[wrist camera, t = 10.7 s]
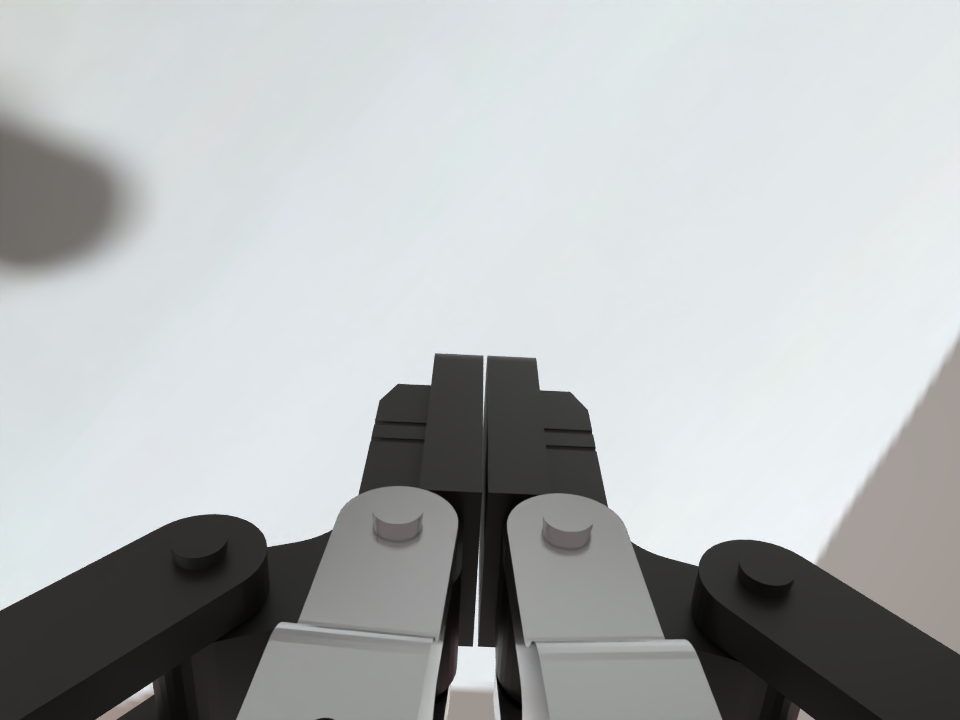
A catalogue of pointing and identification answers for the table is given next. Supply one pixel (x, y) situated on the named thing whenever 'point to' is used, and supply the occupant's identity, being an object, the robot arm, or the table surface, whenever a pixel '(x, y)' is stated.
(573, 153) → the table surface
